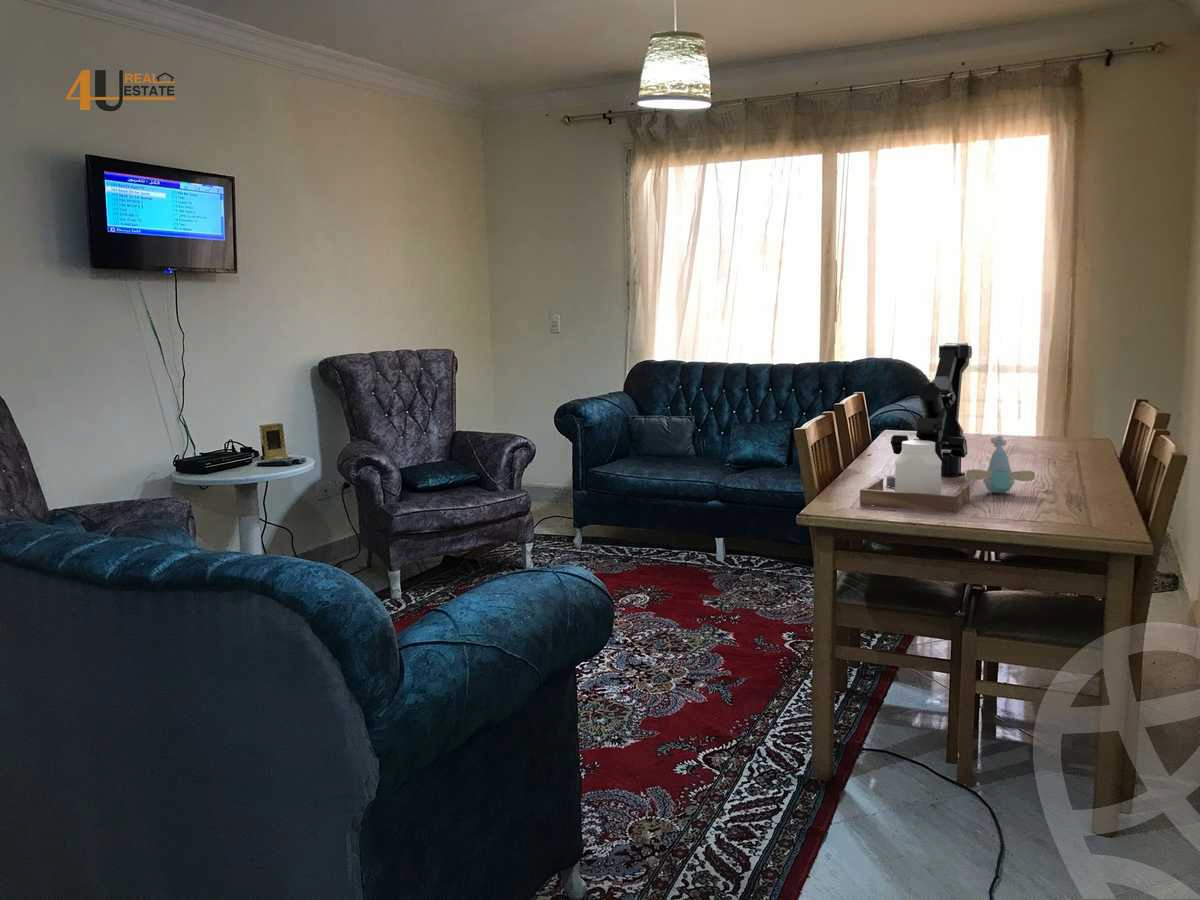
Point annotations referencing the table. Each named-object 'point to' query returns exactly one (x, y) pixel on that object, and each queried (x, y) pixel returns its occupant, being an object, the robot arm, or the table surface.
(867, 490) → the wooden tray
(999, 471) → the blue winged piece
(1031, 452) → the table surface
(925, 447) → the jar
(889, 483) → the wheel
